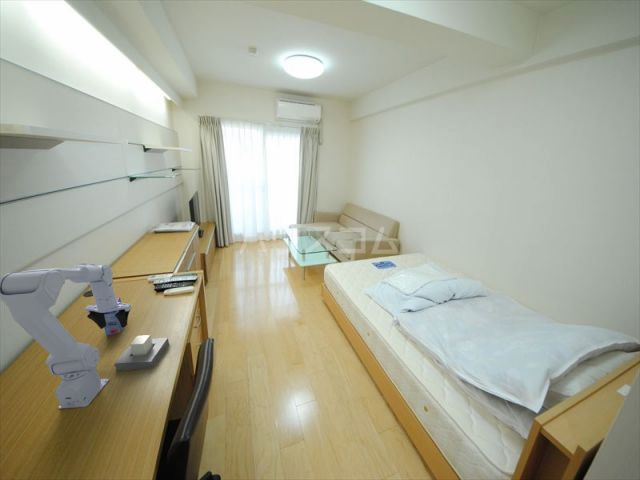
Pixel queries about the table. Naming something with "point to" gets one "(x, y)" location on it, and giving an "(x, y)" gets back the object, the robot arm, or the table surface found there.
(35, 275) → the robot arm
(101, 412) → the table surface
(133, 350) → the brick
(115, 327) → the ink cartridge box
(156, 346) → the block
